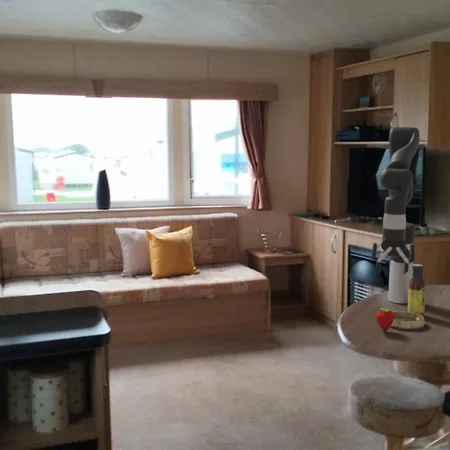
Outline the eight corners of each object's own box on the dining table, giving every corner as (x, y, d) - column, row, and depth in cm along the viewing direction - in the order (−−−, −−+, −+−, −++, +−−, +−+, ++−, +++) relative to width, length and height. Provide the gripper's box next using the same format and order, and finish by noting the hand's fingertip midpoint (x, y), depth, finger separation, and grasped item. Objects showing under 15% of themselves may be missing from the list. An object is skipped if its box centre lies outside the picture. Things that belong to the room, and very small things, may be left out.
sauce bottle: (425, 318, 224) (427, 267, 221) (408, 317, 225) (410, 266, 223) (422, 313, 231) (425, 263, 228) (406, 312, 232) (408, 263, 229)
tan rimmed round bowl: (380, 316, 226) (381, 309, 226) (420, 318, 223) (421, 311, 223) (384, 328, 212) (384, 321, 211) (426, 331, 209) (427, 323, 208)
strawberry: (371, 332, 208) (372, 304, 206) (383, 327, 213) (384, 300, 211) (385, 336, 203) (387, 308, 202) (397, 331, 208) (398, 304, 207)
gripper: (414, 225, 205) (411, 271, 207) (372, 224, 207) (370, 269, 209) (417, 229, 197) (414, 276, 200) (373, 227, 200) (372, 274, 202)
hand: (392, 272), depth 204 cm, fingers open, 8 cm apart
